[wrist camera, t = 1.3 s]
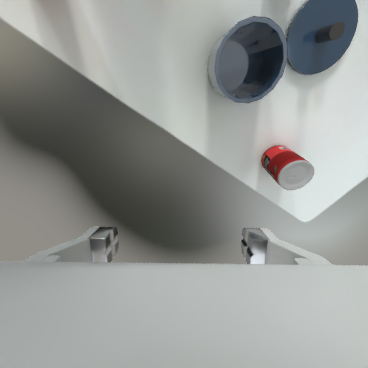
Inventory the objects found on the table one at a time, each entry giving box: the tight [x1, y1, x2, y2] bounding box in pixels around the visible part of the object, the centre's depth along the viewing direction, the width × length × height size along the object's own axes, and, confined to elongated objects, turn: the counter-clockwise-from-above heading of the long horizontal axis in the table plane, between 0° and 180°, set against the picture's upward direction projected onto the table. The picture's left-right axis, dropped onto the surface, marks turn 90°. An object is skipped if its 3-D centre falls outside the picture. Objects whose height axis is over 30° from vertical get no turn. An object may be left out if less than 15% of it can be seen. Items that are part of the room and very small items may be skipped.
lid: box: [286, 0, 358, 74], centre depth 35 cm, size 13×13×5 cm
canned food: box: [262, 146, 314, 190], centre depth 46 cm, size 8×8×11 cm
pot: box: [208, 16, 287, 103], centre depth 35 cm, size 12×12×9 cm
